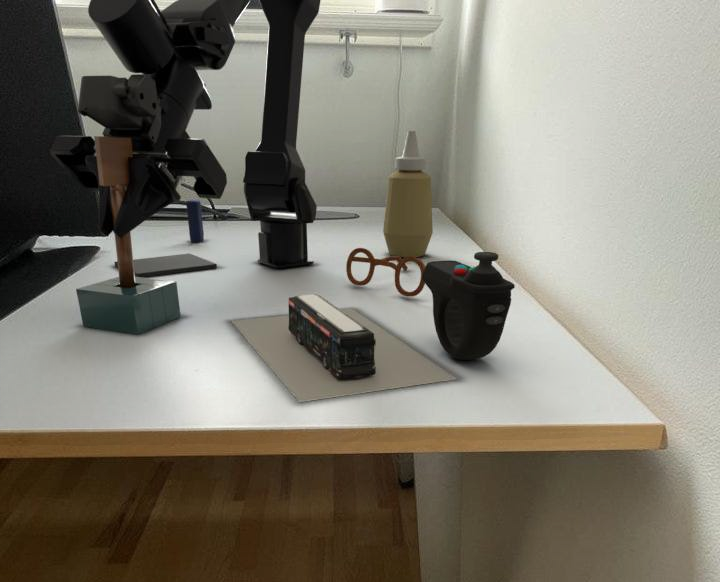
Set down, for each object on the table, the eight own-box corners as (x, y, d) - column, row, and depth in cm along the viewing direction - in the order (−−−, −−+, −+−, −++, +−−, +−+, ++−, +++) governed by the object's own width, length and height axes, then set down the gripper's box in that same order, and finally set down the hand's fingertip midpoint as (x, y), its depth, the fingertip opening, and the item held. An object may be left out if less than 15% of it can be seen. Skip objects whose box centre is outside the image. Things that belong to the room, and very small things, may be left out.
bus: (299, 402, 53) (297, 351, 51) (231, 321, 74) (227, 282, 71) (456, 379, 58) (460, 332, 56) (351, 309, 78) (352, 272, 76)
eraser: (193, 240, 119) (189, 199, 116) (205, 240, 119) (201, 199, 116) (189, 242, 117) (184, 200, 114) (201, 242, 117) (196, 201, 114)
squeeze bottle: (428, 261, 104) (435, 132, 95) (378, 258, 105) (380, 131, 97) (433, 251, 111) (441, 130, 102) (386, 249, 112) (389, 130, 104)
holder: (129, 309, 77) (123, 275, 76) (181, 317, 75) (176, 281, 73) (83, 326, 72) (75, 288, 70) (138, 334, 69) (131, 296, 67)
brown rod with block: (140, 306, 74) (124, 137, 66) (147, 309, 74) (132, 138, 66) (112, 310, 72) (92, 135, 64) (119, 313, 71) (100, 136, 63)
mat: (189, 257, 105) (189, 253, 105) (217, 268, 98) (216, 263, 98) (114, 265, 99) (114, 261, 99) (138, 278, 92) (137, 273, 92)
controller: (468, 377, 58) (479, 261, 54) (413, 338, 69) (418, 237, 64) (511, 372, 60) (525, 258, 55) (451, 334, 70) (458, 235, 65)
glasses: (344, 285, 89) (344, 246, 87) (405, 270, 98) (407, 235, 95) (420, 302, 81) (422, 260, 79) (480, 285, 90) (483, 246, 87)
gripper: (43, 45, 67) (-20, 174, 63) (197, 40, 60) (137, 182, 57) (111, 131, 77) (60, 246, 74) (249, 134, 71) (201, 260, 67)
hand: (109, 234), depth 68 cm, fingers closed on brown rod with block, 1 cm apart
